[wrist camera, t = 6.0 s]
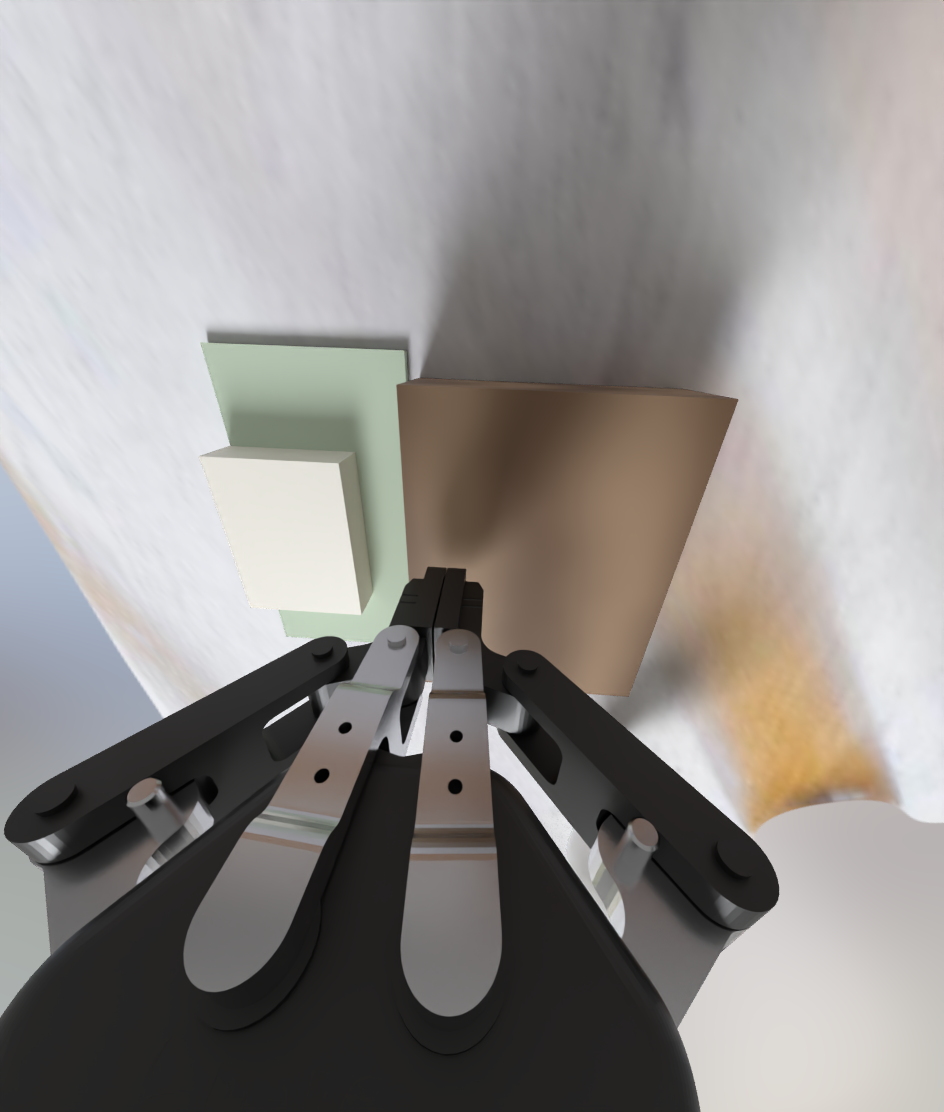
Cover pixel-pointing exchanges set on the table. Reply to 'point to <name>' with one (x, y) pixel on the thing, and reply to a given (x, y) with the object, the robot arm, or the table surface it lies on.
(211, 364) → the mat
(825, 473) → the table surface
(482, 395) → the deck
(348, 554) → the white flat block
